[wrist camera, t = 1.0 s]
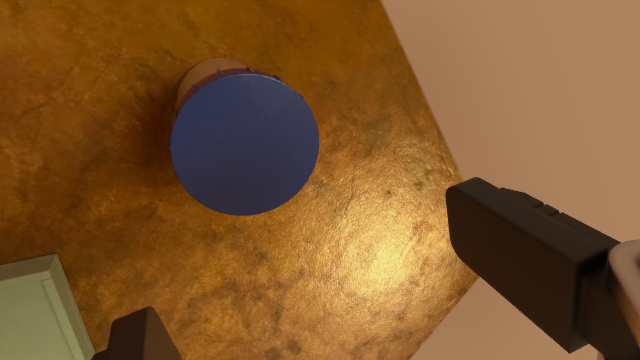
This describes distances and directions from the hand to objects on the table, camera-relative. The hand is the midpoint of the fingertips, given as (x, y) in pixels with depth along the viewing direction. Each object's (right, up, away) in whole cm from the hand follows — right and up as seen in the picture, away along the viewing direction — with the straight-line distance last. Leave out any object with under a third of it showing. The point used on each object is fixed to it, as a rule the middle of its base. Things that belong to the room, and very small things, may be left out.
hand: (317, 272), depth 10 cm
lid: (-3, +4, +9) cm, 10 cm away
